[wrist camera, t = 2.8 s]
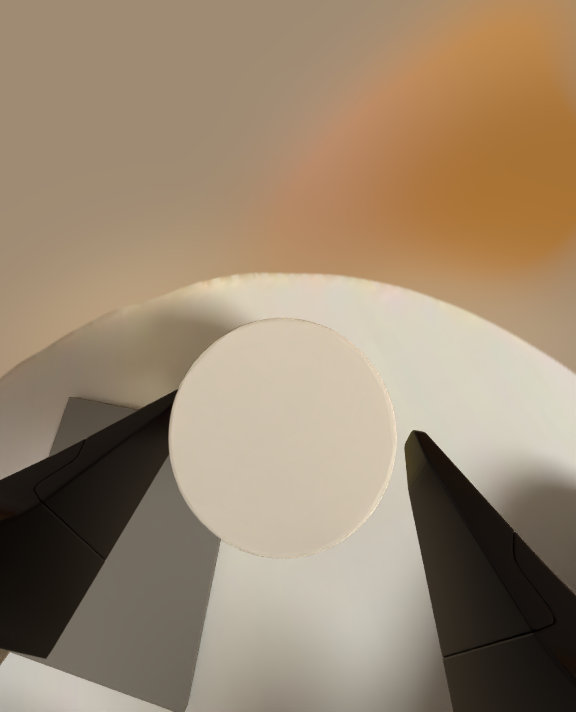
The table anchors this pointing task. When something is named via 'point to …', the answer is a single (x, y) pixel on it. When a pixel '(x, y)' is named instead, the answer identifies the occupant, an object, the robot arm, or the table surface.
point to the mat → (140, 587)
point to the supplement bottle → (282, 438)
